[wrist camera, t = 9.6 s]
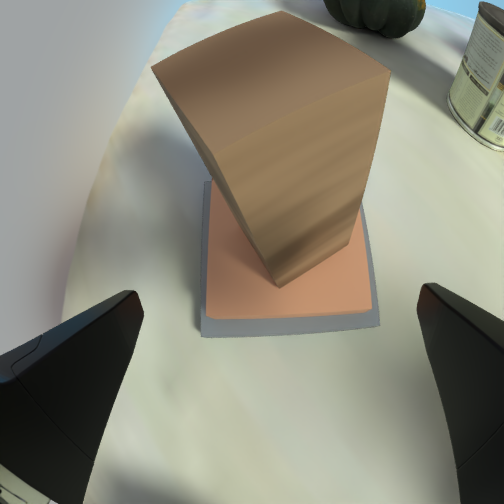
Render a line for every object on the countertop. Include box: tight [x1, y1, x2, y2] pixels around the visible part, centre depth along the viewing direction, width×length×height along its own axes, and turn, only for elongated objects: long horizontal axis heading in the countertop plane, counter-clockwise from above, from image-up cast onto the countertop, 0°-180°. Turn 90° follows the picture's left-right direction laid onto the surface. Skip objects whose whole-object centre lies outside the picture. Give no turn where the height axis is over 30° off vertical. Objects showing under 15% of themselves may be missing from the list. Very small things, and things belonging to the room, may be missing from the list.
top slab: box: [206, 178, 372, 319], centre depth 19 cm, size 10×10×2 cm
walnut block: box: [151, 11, 391, 289], centre depth 12 cm, size 5×5×12 cm
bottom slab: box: [201, 181, 380, 338], centre depth 21 cm, size 12×12×2 cm
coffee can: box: [447, 2, 504, 151], centre depth 16 cm, size 10×10×14 cm
